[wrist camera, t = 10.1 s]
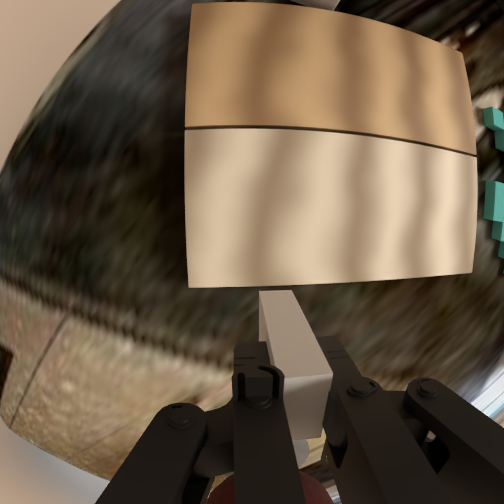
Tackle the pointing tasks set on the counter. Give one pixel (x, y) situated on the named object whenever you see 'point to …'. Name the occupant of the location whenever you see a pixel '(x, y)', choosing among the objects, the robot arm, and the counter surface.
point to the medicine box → (319, 4)
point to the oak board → (324, 76)
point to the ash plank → (323, 208)
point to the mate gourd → (315, 493)
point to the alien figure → (496, 194)
